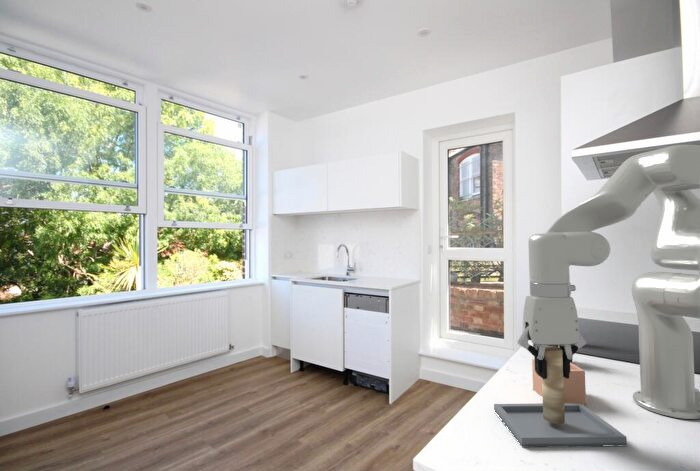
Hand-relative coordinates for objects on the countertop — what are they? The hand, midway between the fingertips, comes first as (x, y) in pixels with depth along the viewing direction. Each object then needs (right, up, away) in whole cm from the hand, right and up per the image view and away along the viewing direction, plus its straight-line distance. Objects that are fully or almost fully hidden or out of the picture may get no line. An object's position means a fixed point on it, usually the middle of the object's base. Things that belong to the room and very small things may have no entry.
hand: (552, 375), depth 75 cm
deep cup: (+10, -11, +14) cm, 20 cm away
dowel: (0, -9, 0) cm, 9 cm away
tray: (0, -11, 0) cm, 11 cm away
